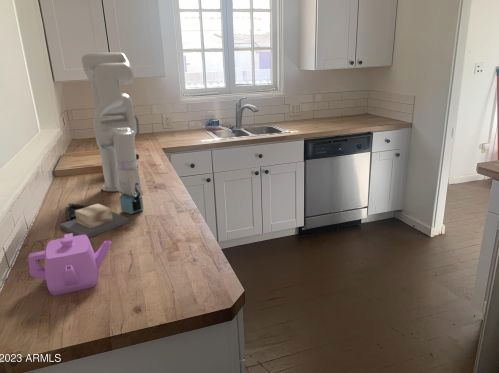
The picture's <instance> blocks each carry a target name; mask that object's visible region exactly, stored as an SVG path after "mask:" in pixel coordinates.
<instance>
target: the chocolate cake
mask: <svg viewBox="0 0 499 373" xmlns="http://www.w3.org/2000/svg"><path fill="white" fill-rule="evenodd" d="M85 207H88V205H82V204H77V203H70V202H69V203H68V206H66V207H65V208H64V219H65V221H71V220H74V219H76V215H75V211H76V210H79V209H82V208H85Z"/></svg>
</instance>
